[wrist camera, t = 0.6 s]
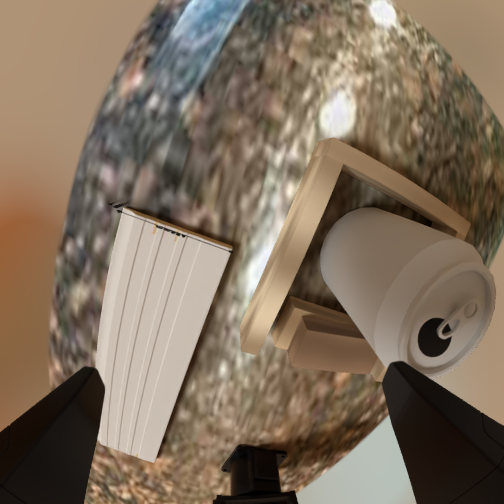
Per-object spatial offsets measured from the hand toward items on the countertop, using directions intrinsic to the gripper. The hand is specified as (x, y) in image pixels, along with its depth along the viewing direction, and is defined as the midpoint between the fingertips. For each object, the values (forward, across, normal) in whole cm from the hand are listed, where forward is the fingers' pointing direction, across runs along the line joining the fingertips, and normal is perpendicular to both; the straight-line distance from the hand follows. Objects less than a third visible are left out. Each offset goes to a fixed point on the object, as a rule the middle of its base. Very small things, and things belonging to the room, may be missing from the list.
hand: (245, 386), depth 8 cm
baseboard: (+13, +10, +14) cm, 22 cm away
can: (+14, -10, +2) cm, 17 cm away
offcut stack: (+13, -7, +8) cm, 17 cm away
